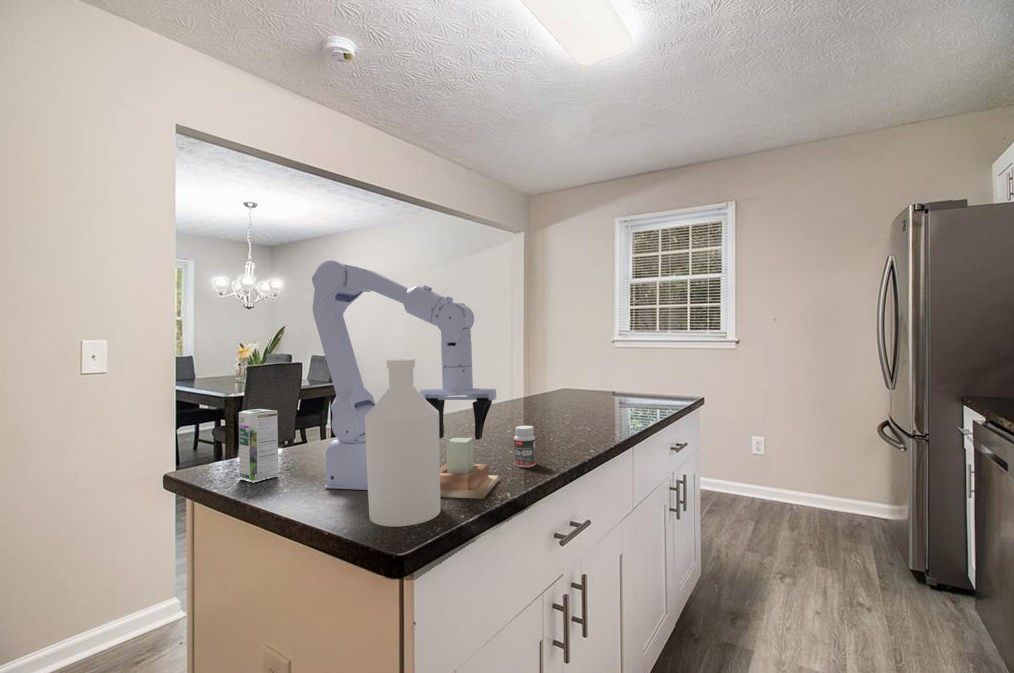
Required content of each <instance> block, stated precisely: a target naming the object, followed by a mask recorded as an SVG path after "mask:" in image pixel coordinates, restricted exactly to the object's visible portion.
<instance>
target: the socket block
mask: <svg viewBox="0 0 1014 673" xmlns="http://www.w3.org/2000/svg"><path fill="white" fill-rule="evenodd" d="M498 482H500V480H499V475H494V474H493V475H492V474H490V475H489V464H488V463H487V464H486V463H474V471H473V472H472V473H470V474H457V473H447V462H446V463H445V464H443V465H441V466H440V498H457V499H458V498H460V499H480V500H481V499H485V498H486V497H487V495H488V494H489V493H490V491H491V490H492V489H493V488H494V487H495V486H496V485H497V483H498Z"/></svg>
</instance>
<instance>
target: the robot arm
mask: <svg viewBox="0 0 1014 673" xmlns="http://www.w3.org/2000/svg"><path fill="white" fill-rule="evenodd" d="M311 281H312V285H313V288H314V291H313V292H314V293H313V300H312V301H313V302H312V315H313V319H314V322H315V325H316V328H317V332H318V336H319V339H320V343H321V347H322V349H323V353H324V357H325V360H326V363H327V366H328V367H327V368H328V370H329V373H330V374H329V375H330V378H331V382H332V385H333V388H334V391H335V398H334V400H333V402H332V404H331V405H330V410H331V413H332V415H331V416H332V417H331V418H332V419H331V428H332V429H331V430H332V433H333V434H334V436H335V437H336V438H337V439H332V441H330V443H329V444H328V446H327V449H326V453H325V467H326V468H325V470H326V484H325V485H324V489H333V490H334V489H335V490H337V489H338V490H339V489H341V490H356V491H357V490H360V491H362V490H363V491H368V478H367V458H366V437H365V415H366V414H367V413H368V412H369V411H370V410H371V409H372V408H373V407H374V406H375V405H376V404H377V402H376V401H375V398H374V396H373V395H372V393H371V392H369V390H367V388H365V387H364V383H363V380H362V379H363V378H362V376H361V373H360V370H359V366H358V362H357V359H356V354H355V353H354V352H355V351H354V348H353V345H352V340H351V339H350V335H349V331H348V327H347V325H346V321H345V318H344V313H345V312H346V310H347V309H348V307H349V306H350V305H351V304H352V303H353V302H354V301H355V300H356V299H358V298H359V297H360V296H362V294H363V293H364V292H365V293H370V292H374V293H377V294H379V295H382V296H384V297H386V298H389V299H391V300H394V301H396V302H399V303H400V304H403V307H404V310H405V312H406V313H407V314H410V315H412V316H413V317H416V318H418V319H420V320H421V321H425V322H427V323H429V324H431V325H433V326H436V327H437V328H438V329H439V330H440V335H441V336H440V337H441V338H440V339H441V342H440V345H441V346H440V347H441V348H440V350H441V351H440V352H441V378H442V380H441V381H442V384H441V385H442V386H441V387H442V388H433V389H429V388H428V389H421V390H419V393H420V394H421V395H422V396H423V397H424V398H425V399H426V400H427V401H428V402H429V403H430V404H431V405H432V406H433V407H434V408H436V409H437V410H438V411H439V440H441V439H443V438H444V437H445V435H444V434H445V427H444V426H445V425H444V412H445V411H444V410H445V409H444V408H445V402H446V401H457V400H458V401H461V400H462V401H463V400H464V401H473V402H472V409H473V415H474V437H475V438H474V439H475V440H480V439H482V438H483V432H484V425H485V422H486V418H487V416H488V414H489V410H490V408H491V407H492V406H491V405H492V404H493V401H495V400H497V388H477V387H476V388H475V387H474V386H473V384H474V383H473V382H474V381H473V380H474V379H473V354H472V352H473V350H472V345H473V344H472V333H471V332H472V331H471V328H473V325H474V322H475V315H474V312H473V311H472V309H471V308H470V307H468V306H467V305H466V304H465V303H463V302H462V303H461V302H459V303H457V302H453V300H454V298H453V297H451V296H448V295H447V296H446V297H445V296H443V295H441V294H438V293H436V292H435V291H432V290H433V288H432V287H431V286H428V285H425V284H424V285H423V286H421V285H417V286H413V287H412V288H408V287H407V286H405V285H402V284H400V283H398V282H397V281H394V280H392V279H391V278H389V277H387V276H384V275H382V274H380V273H378V272H376V271H373V270H369V269H365V268H362V267H359V266H353V265H351V264H350V265H349V264H344V263H340V262H339V261H336V260H333V259H332V260H326V261H325V260H324V261H323V262H322V263H321V264H320V265H318V267H317V269H316V270H315V272H314V274H313V276H312V277H311Z"/></svg>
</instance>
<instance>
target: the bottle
mask: <svg viewBox="0 0 1014 673" xmlns="http://www.w3.org/2000/svg"><path fill="white" fill-rule="evenodd" d="M414 368H416V359H415V358H404V359H386V369H388V383H389V387H388V389H387V390H386V391H385V392H384V394H383V395H382V396H381V398H379V400H378V401H377V402H376V405H375V406H374V407H373V408H372V409H371V410H370V411H369V412H368V413H367V414H366V415H365V437H366V458H367V478H368V490H367V496H368V499H367V500H368V514H369V515H368V516H369V518H368V519H369V520H370V522H371V523H373V524H376V525H379V526H383V527H407V526H412V525H418V524H419V525H420V524H422V523H426V522H428V521H430V520H433V519H434V518H436V517H438V515H439V514H440V513H441V497H440V468H441V466H440V465H441V460H440V458H441V456H440V455H441V454H440V453H441V452H440V451H441V450H440V448H441V447H440V439H439V411H438V410H437V409H436V408H434V407H433V406H432V405H431V404H430V403H429V402H428V401H427V400H426V399H425V398H424V397H423V396H422V395H421V394H420V391H419V390H418V389H416V387H415V386H414Z"/></svg>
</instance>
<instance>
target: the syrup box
mask: <svg viewBox="0 0 1014 673" xmlns="http://www.w3.org/2000/svg"><path fill="white" fill-rule="evenodd" d="M278 422H279V421H278V410H275V409H274V410H273V409H272V410H271V409H263V408H256V409H253V408H252V409H247V410H242V411H239V412H238V458H239V459H238V460H239V461H238V463H239V465H238V466H239V468H238V470H239V478H240V477H242V478H246V479H249V480H252V481H253V480H258V479H262V478H267V477H272V476H275V475H278V476H279V442H278V441H279V439H278V438H279V432H278V431H279V430H278V428H279V426H278Z"/></svg>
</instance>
